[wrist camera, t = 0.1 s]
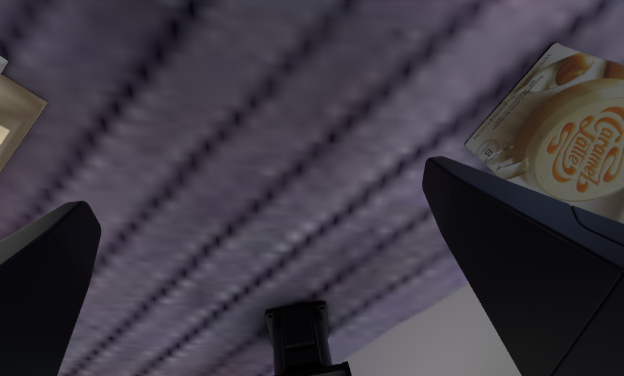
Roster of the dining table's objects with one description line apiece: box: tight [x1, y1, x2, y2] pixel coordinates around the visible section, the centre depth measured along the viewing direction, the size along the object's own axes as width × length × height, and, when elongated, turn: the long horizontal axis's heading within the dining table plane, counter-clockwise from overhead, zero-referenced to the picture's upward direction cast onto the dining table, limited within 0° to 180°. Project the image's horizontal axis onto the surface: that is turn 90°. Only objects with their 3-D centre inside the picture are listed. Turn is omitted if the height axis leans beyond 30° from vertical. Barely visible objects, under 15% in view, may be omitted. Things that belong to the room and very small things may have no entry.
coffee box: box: [465, 43, 624, 224], centre depth 20 cm, size 9×6×16 cm
